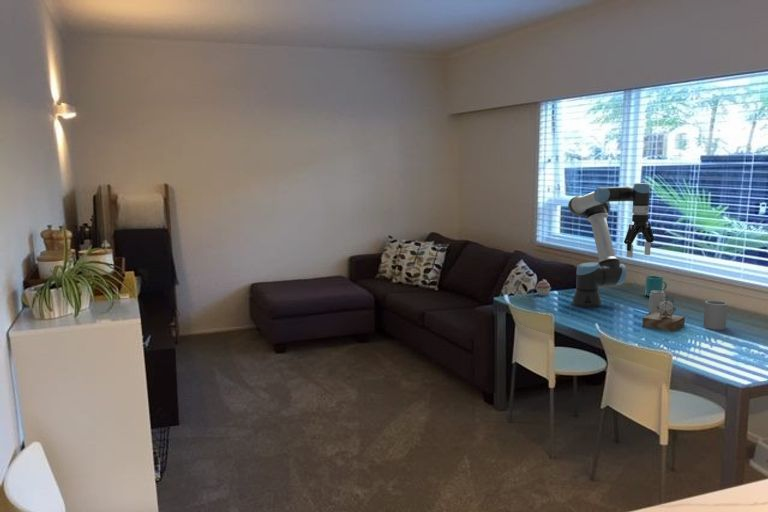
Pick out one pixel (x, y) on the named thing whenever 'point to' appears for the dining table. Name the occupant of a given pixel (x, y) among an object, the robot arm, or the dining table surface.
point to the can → (655, 300)
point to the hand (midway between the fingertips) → (638, 256)
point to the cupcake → (543, 288)
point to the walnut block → (663, 321)
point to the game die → (666, 308)
